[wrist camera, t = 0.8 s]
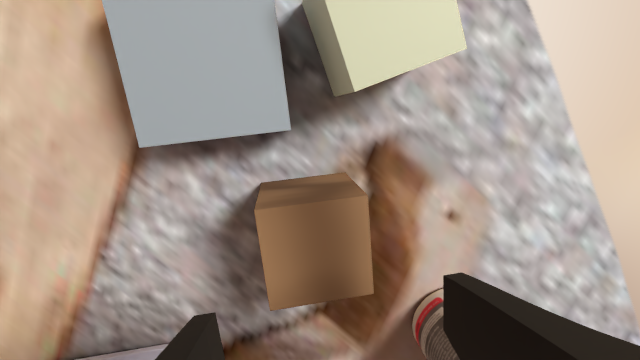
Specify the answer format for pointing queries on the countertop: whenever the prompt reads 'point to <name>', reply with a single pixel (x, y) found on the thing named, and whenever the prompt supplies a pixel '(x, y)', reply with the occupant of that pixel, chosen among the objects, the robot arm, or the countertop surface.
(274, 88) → the base block
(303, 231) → the walnut cube
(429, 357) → the pill bottle
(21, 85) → the countertop surface
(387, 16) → the sage cube
